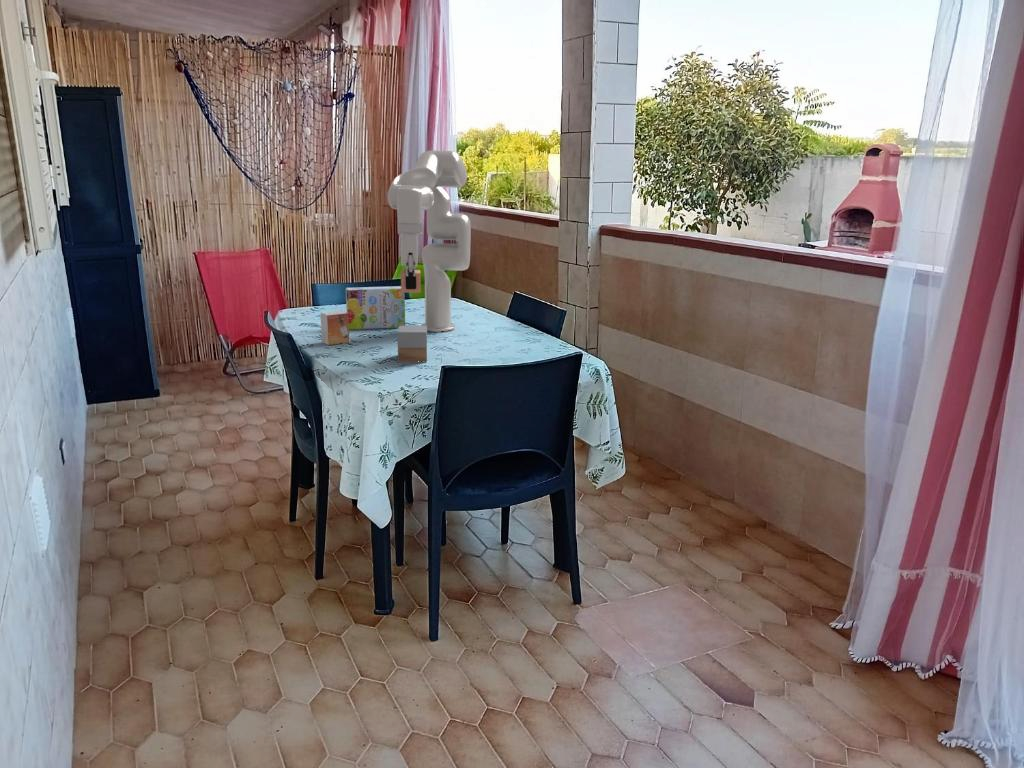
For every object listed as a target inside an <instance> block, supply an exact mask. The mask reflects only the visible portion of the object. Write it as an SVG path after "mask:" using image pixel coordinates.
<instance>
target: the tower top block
mask: <svg viewBox="0 0 1024 768" xmlns="http://www.w3.org/2000/svg"><path fill="white" fill-rule="evenodd" d="M398 348H427V349H428V331H427V326H421V325H405V326H399V328H397V349H398Z"/></svg>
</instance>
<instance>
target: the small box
mask: <svg viewBox="0 0 1024 768" xmlns="http://www.w3.org/2000/svg"><path fill="white" fill-rule="evenodd" d="M320 329H321V332H320V333H321V343H323V344H325V345H327V346H331V345H339V344H340V343H342V344H349V343H350V329H349V320H348V313H347V311H344V310H337V311H336V310H334V311H327V312H320ZM348 342H349V343H348Z"/></svg>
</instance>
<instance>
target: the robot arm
mask: <svg viewBox="0 0 1024 768" xmlns="http://www.w3.org/2000/svg"><path fill="white" fill-rule="evenodd" d="M416 161H417V162H416V163H415V165H414V167H413V168H412V169H409V170H407V171H404V172H403V173H400V174H398V175H397V176H396V177H394V179H393V180H392V182H391V184H390V185H389V188H388V191H387V197H386V198H387V203H388V205H389V207H390V208H391V209H393V210H396V211H397V212H396V213H397V215H396V216H397V235H401V236H400V257H401V259H400V262H401V263H400V264H401V265H400V266H401V267H402V268H404V266H405V268H406V269H405V270H406V289H416V276H415V270H416V268H417V267H418V263H419V262H418V261H419V244H420V243H419V236H420V235H423V211H426V233H427V235H428V237H429V238H430V239H432V240H443V241H444V240H445V241H446V240H447V241H456V242H457V243H446V242H445V243H442V242H441V243H439V242H435V243H428V244H426V245H425V246H423V248H422V250H421V251H422V252H421V259H422V266H423V271H424V273H423V274H424V322H423V323H422V324H421V325H420V326H427V332H432V333H433V332H434V333H436V332H437V333H442V332H441V331H444V332H450V331H453V330H455V329H456V325H455V324H453V323H452V320H451V319H452V318H451V315H452V311H451V310H452V309H451V308H452V307H451V305H452V301H451V300H452V296H451V295H452V294H451V293H452V291H451V288H452V287H451V286H452V285H451V284H452V283H451V280H450V277H449V276H448V275H447V273H446V272H445V271H460V272H461V271H466V270H468V269H469V267H470V263H471V262H470V261H471V242H472V241H471V240H472V239H471V235H472V233H471V231H472V230H471V229H472V228H471V227H472V226H471V225H472V224H471V219H470V218H469V216H468V215H466V214H464V213H453V212H452V211H451V203H452V201H451V197H450V195H449V193H447V191H446V189H445V188H452V189H453V188H458V189H459V188H462V187H464V186H465V185H466V183H467V179H468V173H467V168H466V166H465V163H464V161H463V159H462V157H461V156H460V155H459V154H458V153H457V152H456V151H454V150H425V151H423V152H422V153H421V154H420V156H419V158H418V159H417V160H416ZM413 272H414V274H413ZM413 275H414V276H413ZM454 328H455V329H454ZM449 330H450V331H449Z"/></svg>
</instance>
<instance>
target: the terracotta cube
mask: <svg viewBox="0 0 1024 768" xmlns="http://www.w3.org/2000/svg"><path fill="white" fill-rule="evenodd" d="M413 274H414V272H413ZM421 274H422V273H421V269H415V276H416V289H406V269H401V270H400V286H401V292H404V293H422V291H421V290H422V288H421V287H422V286H421V283H422V281H421V277H422V276H421ZM413 276H414V275H413Z"/></svg>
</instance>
